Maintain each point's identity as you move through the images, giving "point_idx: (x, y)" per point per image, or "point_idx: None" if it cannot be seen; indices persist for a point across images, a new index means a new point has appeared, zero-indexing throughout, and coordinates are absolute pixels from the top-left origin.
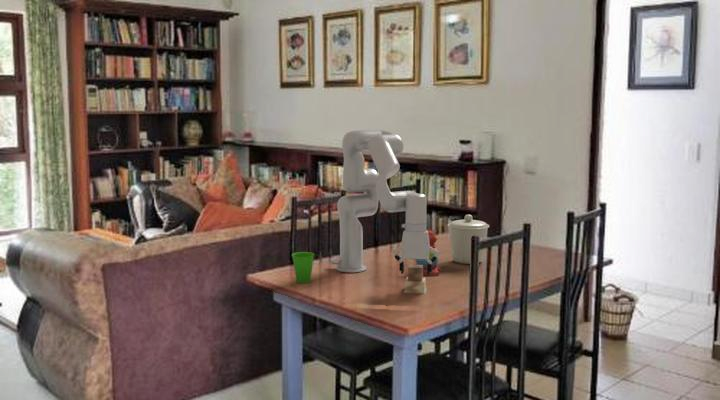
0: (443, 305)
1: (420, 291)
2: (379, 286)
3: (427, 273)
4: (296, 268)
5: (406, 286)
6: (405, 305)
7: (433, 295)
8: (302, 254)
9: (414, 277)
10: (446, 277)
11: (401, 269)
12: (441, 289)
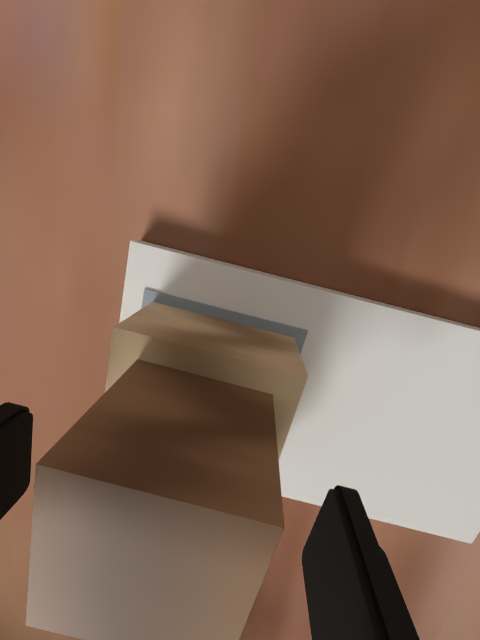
0: (26, 23)
1: (177, 311)
2: (406, 535)
3: (20, 417)
4: None
5: (287, 352)
6: (343, 43)
7: (96, 317)
8: None
9: (201, 399)
10: (21, 621)
11: (371, 538)
12: (44, 437)
